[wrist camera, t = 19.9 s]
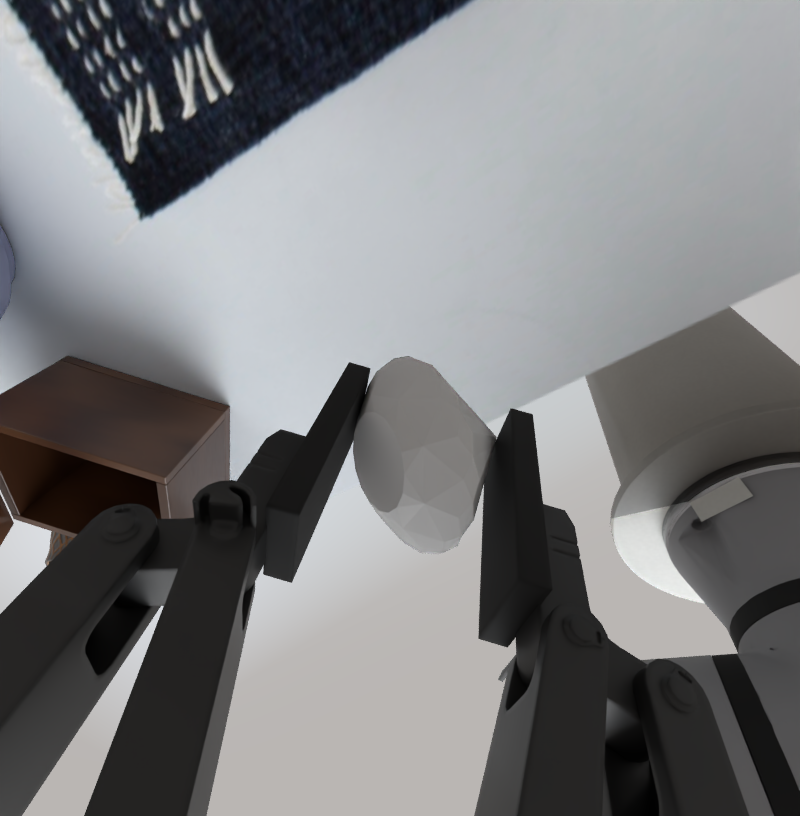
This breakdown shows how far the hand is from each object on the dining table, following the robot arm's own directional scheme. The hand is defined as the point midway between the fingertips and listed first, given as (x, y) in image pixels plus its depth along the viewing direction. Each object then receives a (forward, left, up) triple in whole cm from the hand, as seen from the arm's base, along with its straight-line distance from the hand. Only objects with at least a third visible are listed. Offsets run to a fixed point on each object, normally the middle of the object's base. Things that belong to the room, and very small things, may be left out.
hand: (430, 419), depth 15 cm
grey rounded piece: (0, 0, 0) cm, 0 cm away
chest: (+1, +31, -15) cm, 35 cm away
